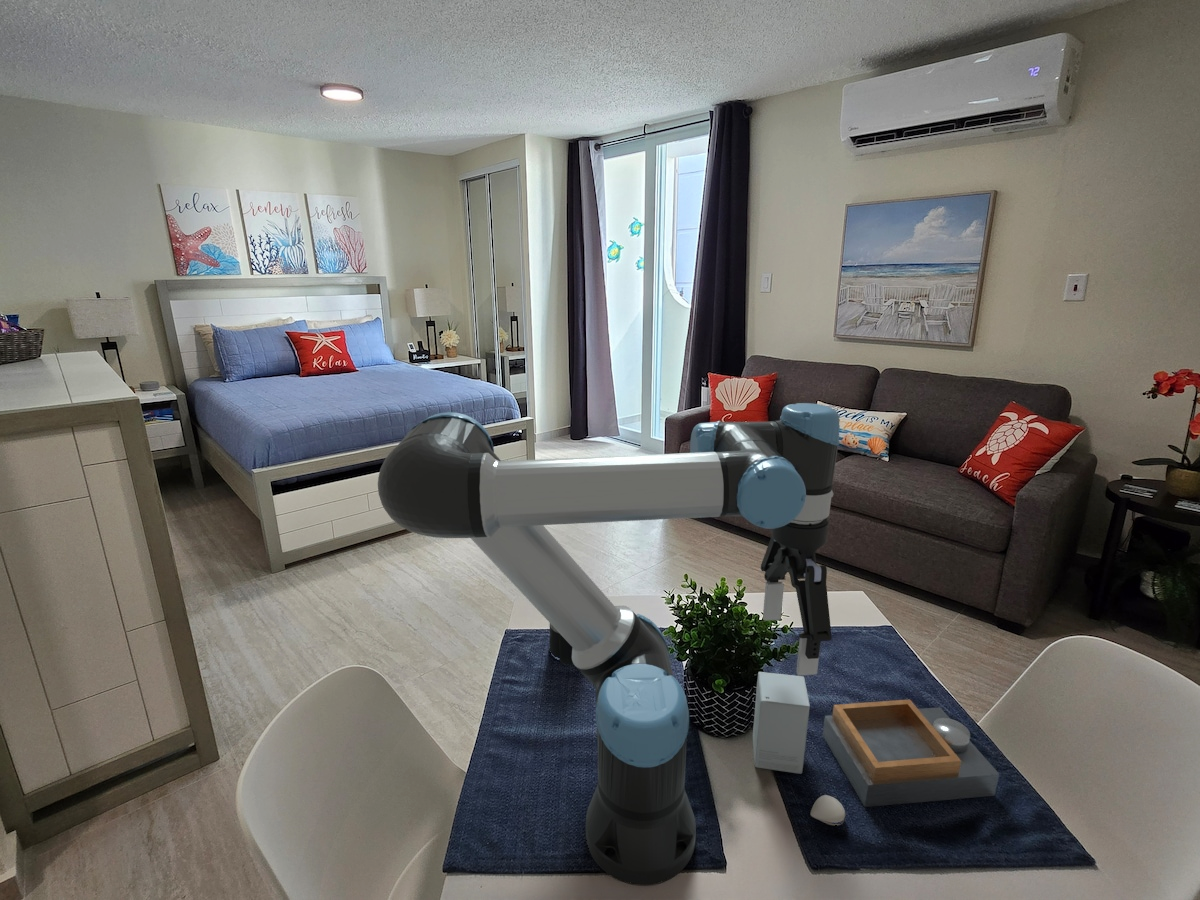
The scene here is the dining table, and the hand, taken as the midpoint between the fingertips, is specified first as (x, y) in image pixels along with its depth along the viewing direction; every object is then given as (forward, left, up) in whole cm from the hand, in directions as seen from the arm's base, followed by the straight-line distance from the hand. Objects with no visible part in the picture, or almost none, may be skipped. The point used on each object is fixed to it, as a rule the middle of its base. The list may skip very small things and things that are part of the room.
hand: (787, 644), depth 93 cm
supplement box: (0, 0, -21) cm, 21 cm away
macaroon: (+3, -12, -21) cm, 24 cm away
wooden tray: (+19, -4, -20) cm, 28 cm away
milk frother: (-28, +29, -21) cm, 45 cm away
